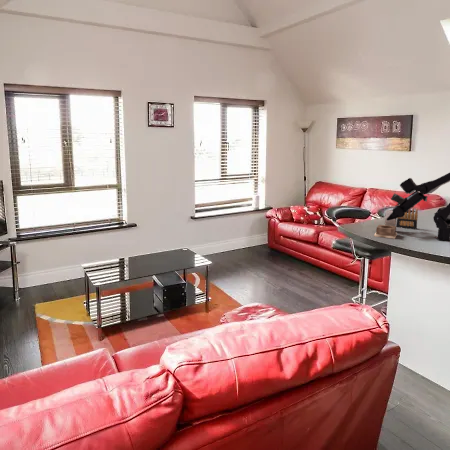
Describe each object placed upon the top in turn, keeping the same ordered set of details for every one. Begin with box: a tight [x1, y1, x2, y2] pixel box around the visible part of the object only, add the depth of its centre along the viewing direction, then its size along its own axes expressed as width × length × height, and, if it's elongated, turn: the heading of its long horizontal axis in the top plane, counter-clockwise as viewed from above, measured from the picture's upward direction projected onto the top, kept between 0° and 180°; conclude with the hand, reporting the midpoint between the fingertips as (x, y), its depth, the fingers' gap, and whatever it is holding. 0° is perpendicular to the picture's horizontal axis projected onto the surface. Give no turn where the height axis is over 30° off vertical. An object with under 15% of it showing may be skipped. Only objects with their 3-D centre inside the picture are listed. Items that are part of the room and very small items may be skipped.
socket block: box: [373, 224, 398, 239], centre depth 223 cm, size 10×10×4 cm
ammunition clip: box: [396, 206, 419, 230], centre depth 241 cm, size 11×2×12 cm, turn 62°
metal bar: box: [384, 209, 397, 226], centre depth 232 cm, size 5×5×11 cm
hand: (387, 218), depth 233 cm, fingers open, 7 cm apart
